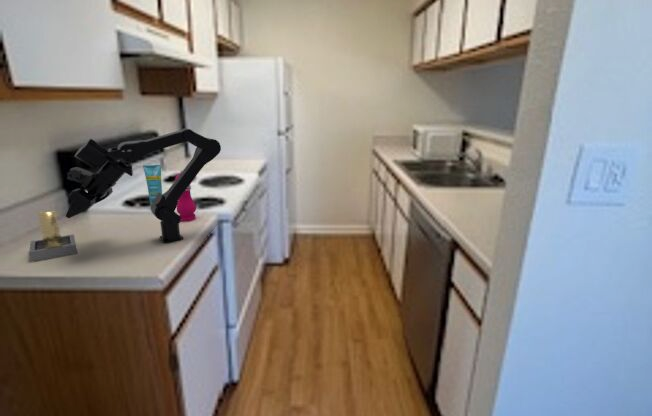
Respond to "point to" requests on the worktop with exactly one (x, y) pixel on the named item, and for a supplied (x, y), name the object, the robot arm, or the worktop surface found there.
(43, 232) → the beige tall cylinder
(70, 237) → the collar
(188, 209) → the pepper mill
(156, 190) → the tube
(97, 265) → the worktop surface
